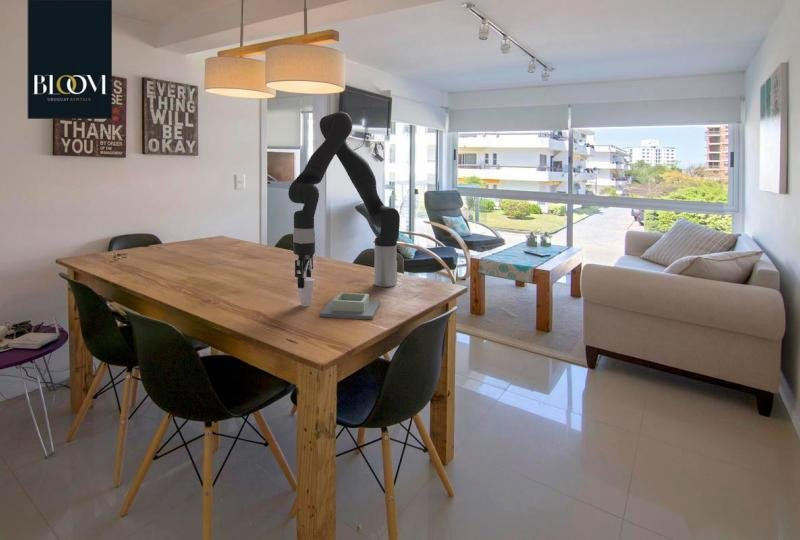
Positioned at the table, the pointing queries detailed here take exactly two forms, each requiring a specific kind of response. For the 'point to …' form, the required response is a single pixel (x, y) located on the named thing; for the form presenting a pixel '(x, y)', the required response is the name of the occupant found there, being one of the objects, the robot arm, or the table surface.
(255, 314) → the table surface
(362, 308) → the stand
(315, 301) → the table surface
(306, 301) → the smoothie
